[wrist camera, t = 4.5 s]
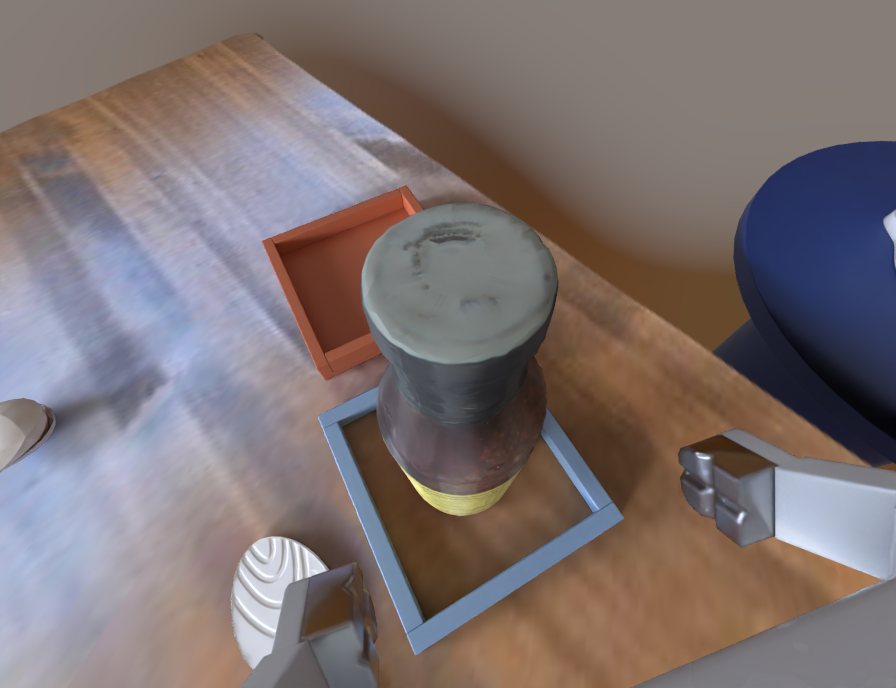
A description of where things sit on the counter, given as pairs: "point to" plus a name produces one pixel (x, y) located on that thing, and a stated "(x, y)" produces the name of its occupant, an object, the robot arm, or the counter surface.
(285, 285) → the terracotta tray
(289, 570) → the spoon
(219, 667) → the counter surface
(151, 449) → the counter surface
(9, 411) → the clam shell
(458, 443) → the sauce bottle
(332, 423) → the blue frame
